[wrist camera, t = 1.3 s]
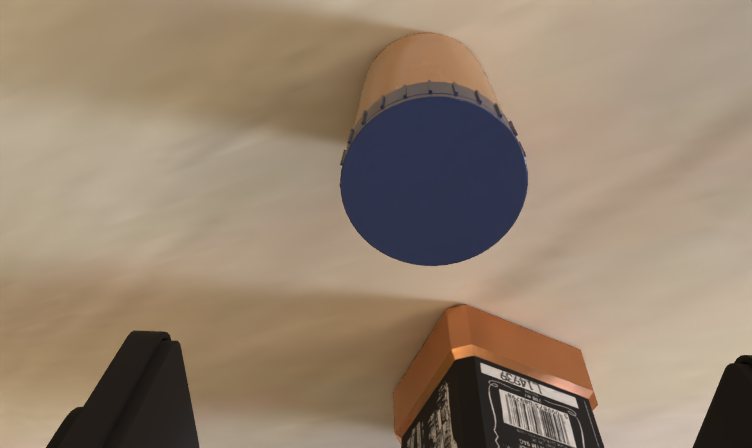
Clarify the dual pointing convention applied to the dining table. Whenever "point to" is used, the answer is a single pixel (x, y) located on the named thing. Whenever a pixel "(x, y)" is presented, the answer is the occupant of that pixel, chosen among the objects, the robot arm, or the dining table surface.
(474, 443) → the whiskey bottle
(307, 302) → the dining table surface
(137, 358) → the robot arm
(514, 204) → the jar lid
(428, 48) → the honey jar
